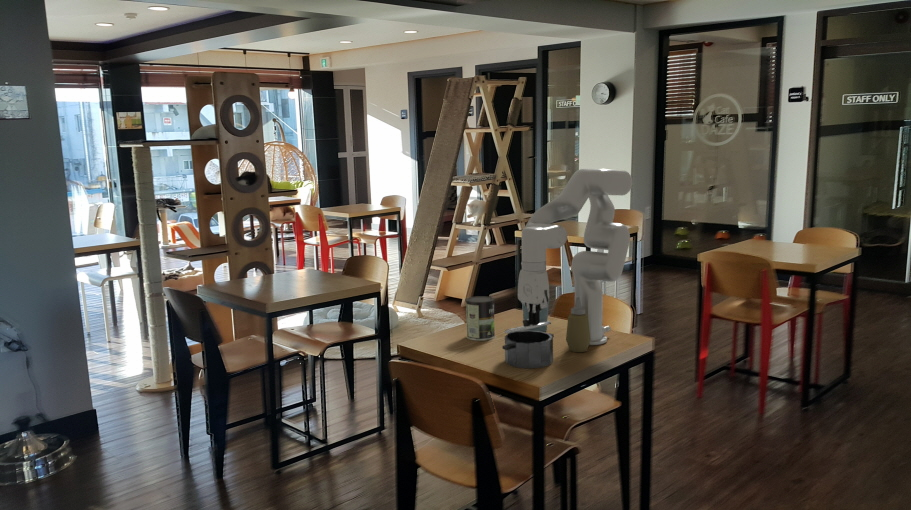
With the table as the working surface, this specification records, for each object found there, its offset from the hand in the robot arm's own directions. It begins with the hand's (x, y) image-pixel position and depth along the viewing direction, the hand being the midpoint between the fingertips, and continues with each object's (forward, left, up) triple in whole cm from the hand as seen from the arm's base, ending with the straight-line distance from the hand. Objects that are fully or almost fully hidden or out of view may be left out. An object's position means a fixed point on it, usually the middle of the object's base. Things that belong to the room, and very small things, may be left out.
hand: (534, 323), depth 222 cm
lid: (0, -3, -2) cm, 4 cm away
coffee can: (-7, -35, -13) cm, 38 cm away
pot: (0, -3, -13) cm, 13 cm away
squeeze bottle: (-20, 0, -13) cm, 24 cm away
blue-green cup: (-28, -28, -13) cm, 42 cm away
